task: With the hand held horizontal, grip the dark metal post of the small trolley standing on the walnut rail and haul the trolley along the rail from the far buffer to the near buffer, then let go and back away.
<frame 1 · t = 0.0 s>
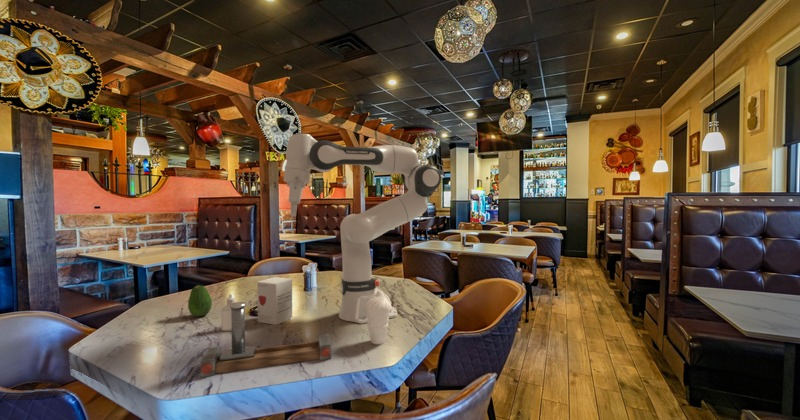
hand: (293, 215, 119), 39 cm above the table, tool pointing down, fingers open, 8 cm apart
supplement box: (275, 320, 122), on the table
carriage: (238, 331, 88), point 9 cm above the table, slide at 0.0 cm
eye dropper bottle: (231, 329, 114), on the table
soft serve ice cream cone: (378, 342, 102), on the table
rail: (270, 360, 90), on the table
avocado: (200, 316, 127), on the table
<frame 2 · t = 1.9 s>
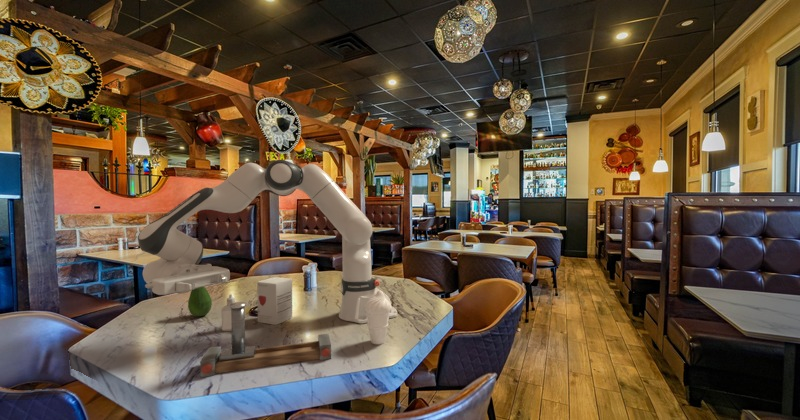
hand: (209, 283, 93), 21 cm above the table, tool horizontal, fingers open, 8 cm apart
nothing on the table moved.
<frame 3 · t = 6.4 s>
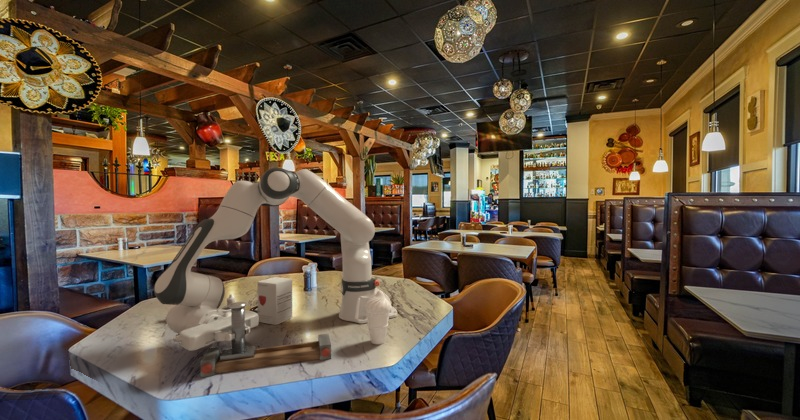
hand: (240, 333, 87), 9 cm above the table, tool horizontal, fingers closed on carriage, 3 cm apart
carriage: (238, 331, 88), point 9 cm above the table, slide at 0.0 cm, touching gripper
everything else where it was.
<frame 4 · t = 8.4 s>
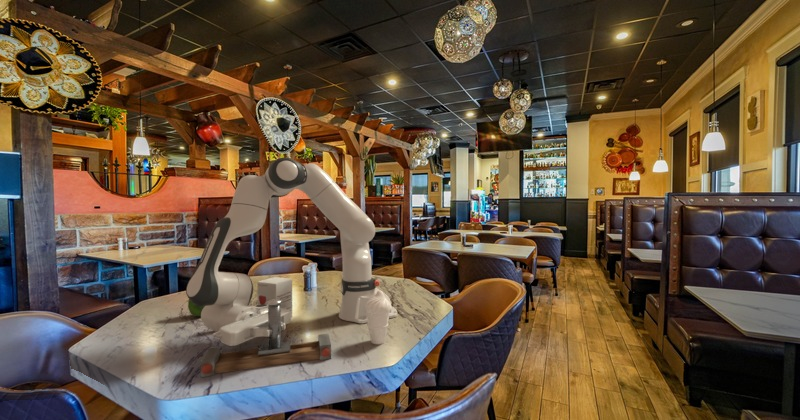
hand: (277, 330, 90), 8 cm above the table, tool horizontal, fingers closed on carriage, 3 cm apart
carriage: (274, 327, 90), point 9 cm above the table, slide at 9.1 cm, touching gripper
everything else where it was.
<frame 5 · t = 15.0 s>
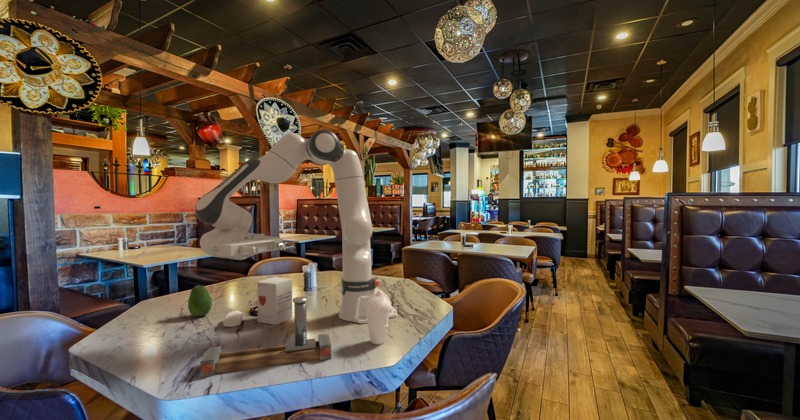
hand: (269, 248, 98), 30 cm above the table, tool horizontal, fingers open, 8 cm apart
carriage: (300, 324, 92), point 9 cm above the table, slide at 16.0 cm
eye dropper bottle: (232, 322, 115), point 2 cm above the table
everything else where it was.
at the end: carriage slide at 16.0 cm; the gripper is holding nothing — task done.
